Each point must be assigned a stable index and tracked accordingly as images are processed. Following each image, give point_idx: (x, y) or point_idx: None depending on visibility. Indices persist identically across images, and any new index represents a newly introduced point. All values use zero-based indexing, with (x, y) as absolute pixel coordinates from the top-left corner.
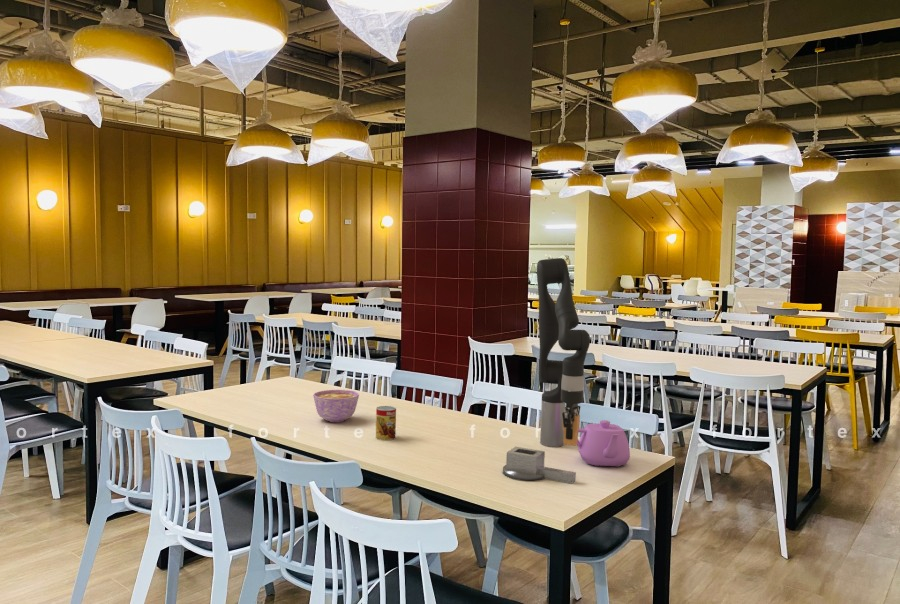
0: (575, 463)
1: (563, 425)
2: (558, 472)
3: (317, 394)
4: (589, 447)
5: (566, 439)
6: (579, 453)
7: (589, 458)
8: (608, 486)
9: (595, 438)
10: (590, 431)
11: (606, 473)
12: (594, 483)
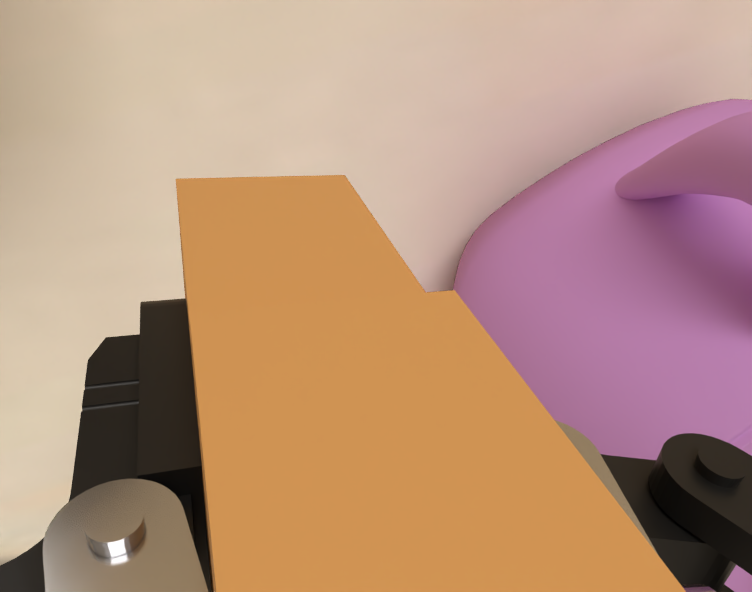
0: (496, 105)
1: (199, 427)
2: None
3: None
4: (525, 336)
5: (184, 279)
6: (660, 119)
7: (460, 284)
8: (26, 500)
9: (599, 447)
10: (715, 425)
11: None
12: (15, 412)
